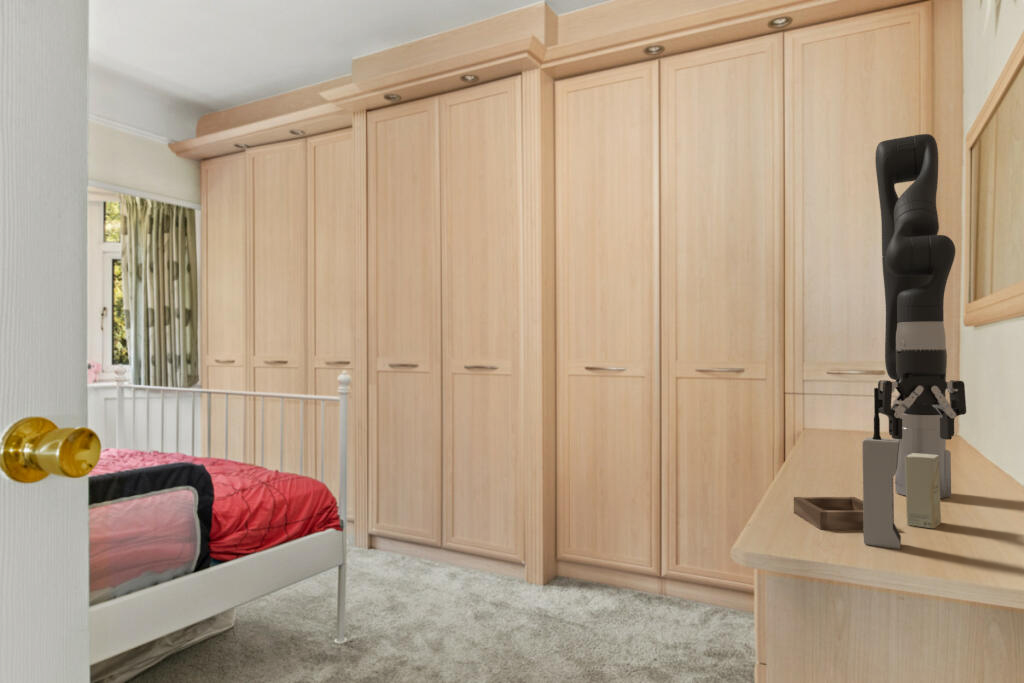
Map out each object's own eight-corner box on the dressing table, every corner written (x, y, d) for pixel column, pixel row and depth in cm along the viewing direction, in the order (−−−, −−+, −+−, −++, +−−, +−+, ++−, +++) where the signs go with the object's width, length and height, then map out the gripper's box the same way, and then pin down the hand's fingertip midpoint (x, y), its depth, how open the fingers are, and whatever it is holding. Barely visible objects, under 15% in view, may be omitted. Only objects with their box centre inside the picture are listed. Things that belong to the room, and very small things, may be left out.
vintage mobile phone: (900, 550, 101) (897, 388, 101) (863, 544, 104) (861, 387, 104) (901, 543, 104) (899, 387, 104) (865, 539, 107) (863, 386, 107)
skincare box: (935, 529, 112) (934, 459, 112) (905, 525, 115) (904, 456, 115) (941, 522, 117) (940, 454, 117) (912, 518, 120) (911, 451, 120)
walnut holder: (854, 512, 124) (854, 496, 124) (887, 529, 112) (887, 512, 112) (793, 512, 124) (793, 497, 124) (820, 529, 113) (820, 512, 113)
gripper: (947, 348, 120) (948, 436, 119) (868, 348, 120) (869, 436, 120) (975, 347, 112) (976, 442, 112) (891, 347, 113) (892, 441, 112)
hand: (921, 439), depth 116 cm, fingers open, 8 cm apart
